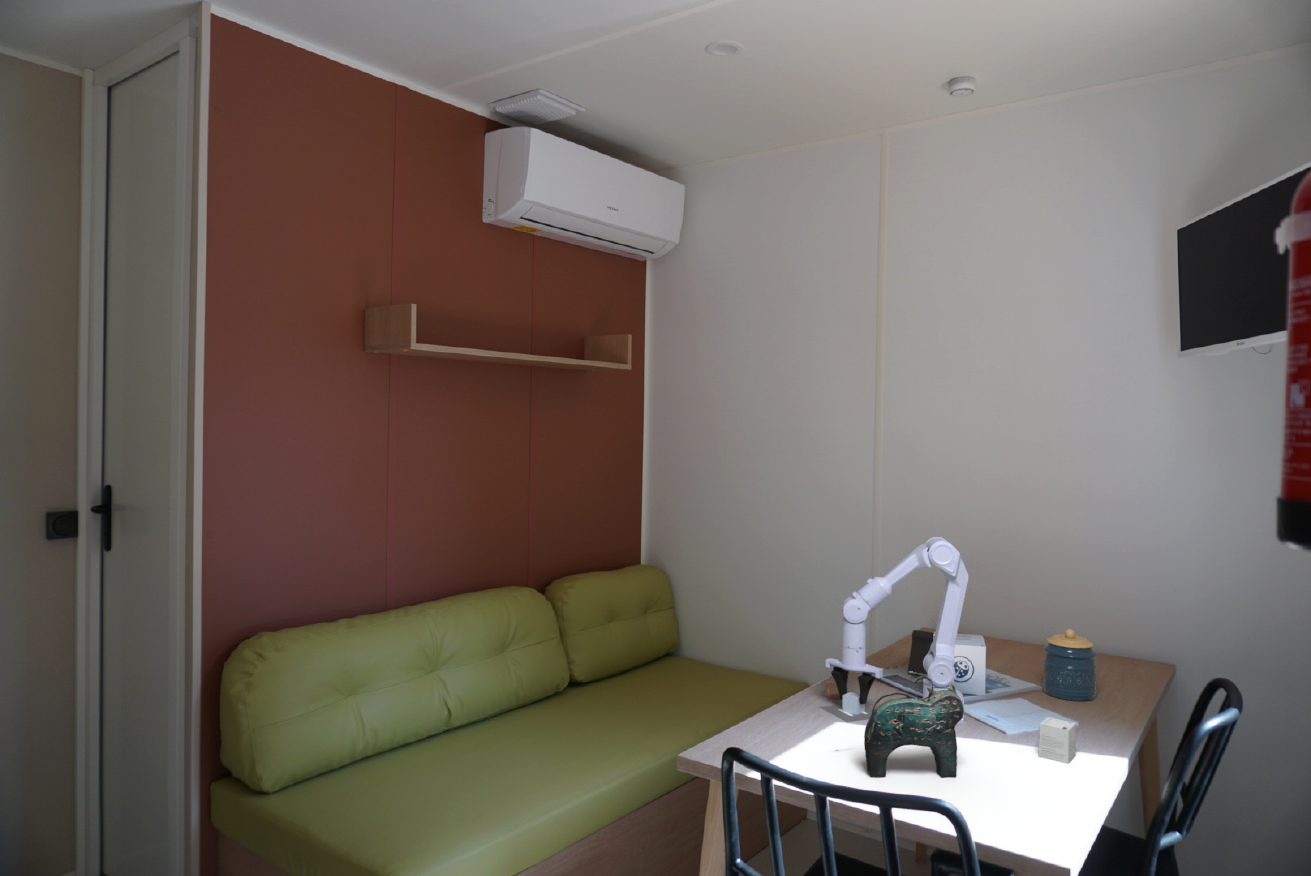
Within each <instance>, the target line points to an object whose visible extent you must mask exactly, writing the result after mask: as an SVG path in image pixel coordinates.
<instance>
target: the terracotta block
mask: <svg viewBox="0 0 1311 876" xmlns="http://www.w3.org/2000/svg"><path fill="white" fill-rule="evenodd" d="M824 695H825V696H826V697H827V698H828V699H829V700H830V699H831V700H834V699H835V700H837V699H839V700H841V699H840V696H839V691H838V688H837V685H836V682H835V681H824Z"/></svg>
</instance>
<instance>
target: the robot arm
mask: <svg viewBox="0 0 1311 876" xmlns="http://www.w3.org/2000/svg"><path fill="white" fill-rule="evenodd" d="M930 563H932V564H933V565H934V566H935V567H937V568H938V569H939V570H940V572H941V573H942V574H943V575H944V577H945V579H946V580H945V585H944V589H943V594H942V599H941V605H940V609H939V613H938V618H937V622H936V628H935V632H934V633H935V636H934V641H933V643H932V644H931V647H930V651H929V653H928V654H927V655H926V656H925V658H924V660H923V667H924V669H925V671H926V672H927V675H926V677H928V678H929V679H931V681H932V683H933V690H935V691H938V690H948V689H949V688H950V686H951V685H953V686H955V678H956V671H955V667H954V664H955V663H954V662H955V646H956V642H957V641H956V640H957V636H958V632H959V626H960V621H961V616H962V612H963V607H964V602H965V597H966V593H967V587H968V583H969V573H968V571H967V569H966V565H965V564H964V561H963V558H962V556H961V553H960V551H958V550H957V548H956V546H954V545H953V544H952V543H950V542H948V541H947V540H946V539H945V538H943V537H941V536H933V537H931V538H929V539H927V541H926V542H925V543H922V544H920V545H919V546H917V547H916V548H915V549H914V550H912V551H911V552H910V553H909V554H908V555H906V557H904V558H903V559H902V560H901V561H900V562H899V563H897V565H895V566H894V567H893V568H892V569H891V570H890V571H889V572H888V573H886V575H884V576H875V577H873V578H871V577H869V578H868V579H867V580H866V584H864V585H863V586H862V587H861V588H860V589H859V590H857V591H856V590H855V591H853V592H852V593H851V595H852V596H848V597H847V598H845V599H844V601H843V602H842V605H841V612H842V615H843V617H842V627H841V628H842V629H841V631H842V632H841V659H838V658H837V659H836V658H830V657H828V658H827V659H825V668H829V669H830V668H833V669H832V670H831V671H830V674H831V676H832V678H833V681H834V682H836V685H837V688H838V691H839V696H840V699H839V700H840V701H843V695H844V694H847V693H848V679H849V678H848V677H849V674H850V673H849V672H852V673H855V674H856V673H857V674H861V675H859V676H857V681H858V685H859V694H860V704H862V705H863V704H865V705H866V704H867V702H868V701H867V700H868V696H869V693H870V691H871V688H872V686H873V683H874V682H875V680H876V679H880V678H882V677H883V676H884V675H883V671H884V669H883V668H881V667H877V666H874V665H871V664H868V663H867V662H866V657H867V656H866V651H867V650H866V648H867V646H866V645H867V644H866V643H867V640H866V639H867V638H866V637H867V628H866V619H867V617H868V613H869V612H872V611H873V610H875V609H877V607H878V606H880V605H881V604H882V603H883V602H885V601H886V600H888V598H889V597H891V596H892V594H893V593H892V591H893V588H894V587H895V586H896V585H897V584H899V583H900V582H902V581H903V580H904V579H905V578H907V577H908V576H910V575H911V574H912V573H914V572H915V571H916V570H919V569H926V568H929V569H930V568H932V566H931V564H930ZM922 682H923V683H922V698H925V697H928V696H929V691H928V690H927V687H928V688H931V689H932V684H931V682H930V681H929V680H928V679H923V681H922ZM955 689H956V693H957V695H958V696H959V698H960V699H961V701H962V703H963V708H964V709H965V699H964V695H963V694H962V692H961V691H959V690H958V689H957V687H955ZM927 699H928V698H927ZM961 724H964V725H968V724H967V721H965V713H964V714H963V717H962V719H961V720H960V721H959V722H958V723H957V724H956V725H961Z"/></svg>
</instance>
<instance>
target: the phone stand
mask: <svg viewBox="0 0 1311 876" xmlns="http://www.w3.org/2000/svg"><path fill="white" fill-rule="evenodd" d="M934 633H935V632H932V631H925V630H918V629H913V631H912V633H911V634H912V635H911V644H910V645H911V646H910V654H909V662H908V668H907V669H908V670H907V672H908V671H913V672H917V673H923V674H927V672H926V671H925V669H924V667H923V660H924V658H925V656H926V655H927V654H928V653H929V651H930V647H931V644H932V643H933V634H934Z"/></svg>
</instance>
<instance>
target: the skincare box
mask: <svg viewBox="0 0 1311 876" xmlns="http://www.w3.org/2000/svg"><path fill="white" fill-rule="evenodd" d="M1038 731H1039V733H1038V734H1039V735H1038V736H1039V737H1038V756H1039V758H1043V759H1046V760H1049V761H1054V762H1055V761H1056V762H1059V763H1062V764H1066V765H1069V764H1070V763H1071V762H1072V760H1073V759H1074V758H1075V757H1076V751H1077V750H1076V745H1077V743H1076V741H1077V740H1076V739H1077V723H1076V722H1072V721H1067V720H1063V719H1057V718H1055V717H1051V716H1047V717H1046V718H1044V719H1043V720H1042V721H1041V722H1040V723H1039V729H1038Z"/></svg>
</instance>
